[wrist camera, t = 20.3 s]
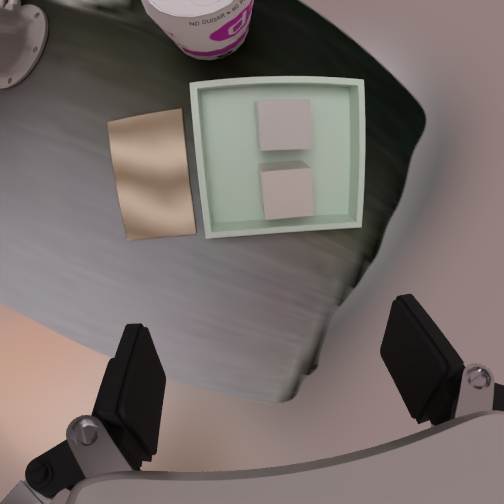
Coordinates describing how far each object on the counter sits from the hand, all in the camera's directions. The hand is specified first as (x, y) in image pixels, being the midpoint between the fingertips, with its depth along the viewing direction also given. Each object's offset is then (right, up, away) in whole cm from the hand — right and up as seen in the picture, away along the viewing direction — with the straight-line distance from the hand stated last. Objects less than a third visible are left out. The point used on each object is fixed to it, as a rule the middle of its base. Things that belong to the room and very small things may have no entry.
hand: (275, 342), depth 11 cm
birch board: (-13, +12, +23) cm, 29 cm away
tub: (+2, +15, +22) cm, 27 cm away
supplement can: (-5, +28, +16) cm, 33 cm away
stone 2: (+2, +11, +23) cm, 26 cm away
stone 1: (+2, +17, +20) cm, 27 cm away
